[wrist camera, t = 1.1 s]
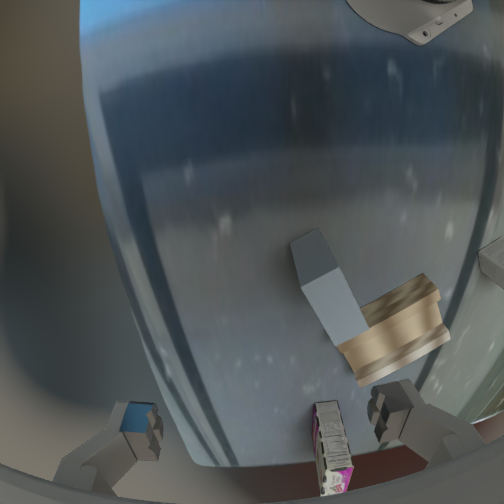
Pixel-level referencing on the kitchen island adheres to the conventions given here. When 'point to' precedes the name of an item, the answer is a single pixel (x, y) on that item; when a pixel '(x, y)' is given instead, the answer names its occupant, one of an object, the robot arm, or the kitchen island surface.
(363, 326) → the box
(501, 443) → the robot arm
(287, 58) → the kitchen island surface
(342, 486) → the candy bar box
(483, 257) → the skincare box
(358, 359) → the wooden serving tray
